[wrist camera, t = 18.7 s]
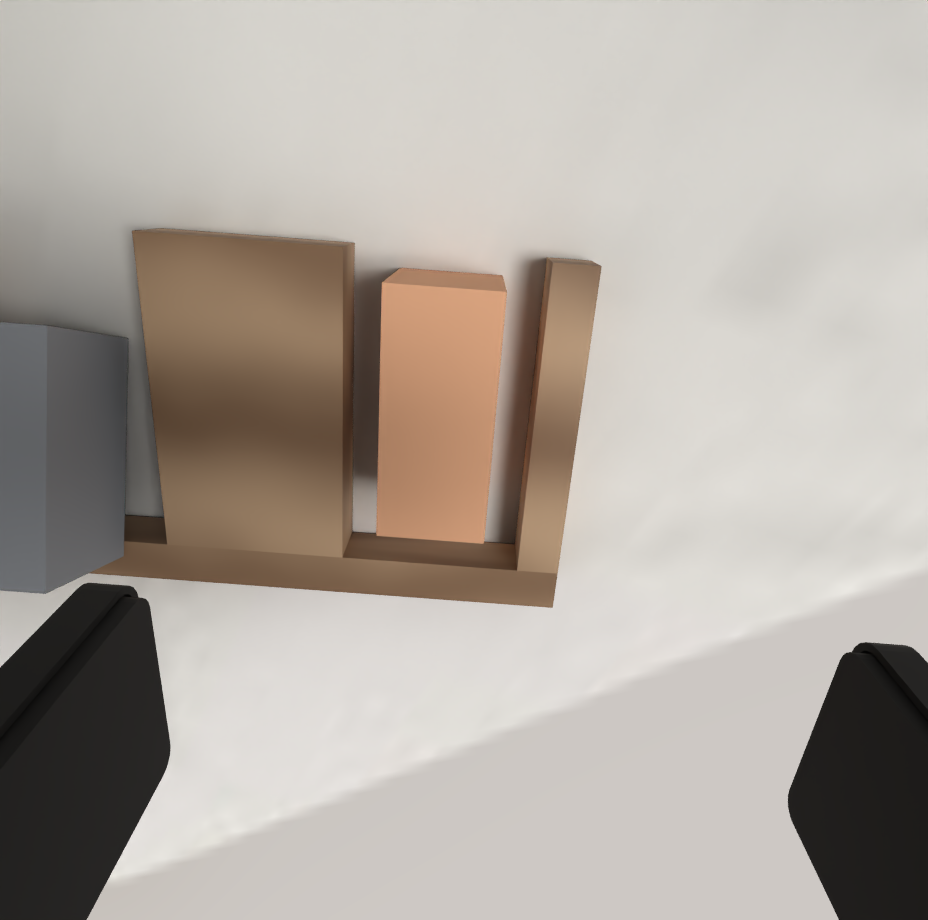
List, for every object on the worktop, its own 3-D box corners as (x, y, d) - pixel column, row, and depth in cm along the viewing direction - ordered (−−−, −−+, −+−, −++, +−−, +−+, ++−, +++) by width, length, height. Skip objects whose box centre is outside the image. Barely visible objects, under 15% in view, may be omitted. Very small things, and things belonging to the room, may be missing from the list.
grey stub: (30, 330, 23) (-74, 316, 19) (128, 338, 23) (46, 325, 19) (29, 549, 24) (-71, 585, 20) (123, 556, 24) (45, 593, 20)
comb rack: (-76, 210, 22) (-128, 210, 20) (591, 260, 22) (601, 266, 20) (-4, 538, 26) (-40, 563, 25) (547, 579, 26) (552, 607, 25)
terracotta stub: (400, 267, 22) (381, 282, 18) (502, 275, 22) (506, 291, 18) (393, 480, 25) (376, 535, 21) (483, 487, 25) (484, 543, 21)
